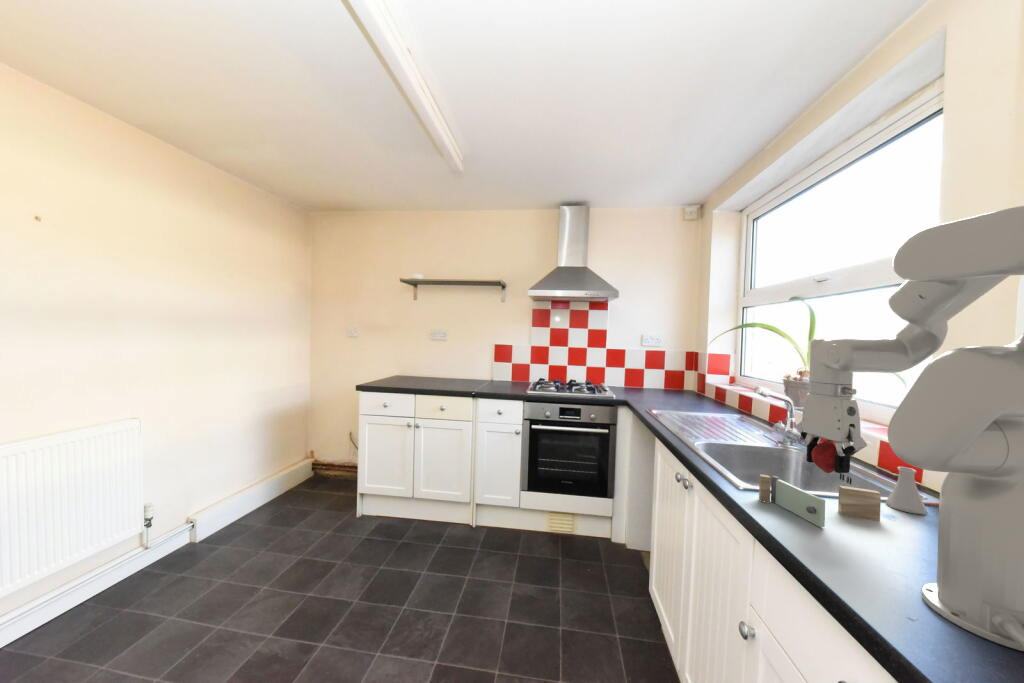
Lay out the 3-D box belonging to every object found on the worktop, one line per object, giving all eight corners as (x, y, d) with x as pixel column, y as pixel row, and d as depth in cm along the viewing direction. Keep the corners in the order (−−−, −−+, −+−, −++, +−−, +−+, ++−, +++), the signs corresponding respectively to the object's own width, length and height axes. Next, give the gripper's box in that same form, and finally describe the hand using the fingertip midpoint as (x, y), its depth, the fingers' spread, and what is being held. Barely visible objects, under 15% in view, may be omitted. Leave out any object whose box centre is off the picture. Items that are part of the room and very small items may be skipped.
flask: (932, 518, 84) (933, 476, 84) (888, 509, 88) (889, 469, 88) (922, 507, 89) (923, 468, 89) (881, 499, 94) (882, 461, 94)
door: (816, 527, 78) (817, 499, 78) (766, 500, 91) (767, 476, 91) (825, 527, 78) (826, 498, 78) (774, 500, 91) (775, 475, 91)
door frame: (879, 521, 82) (880, 493, 82) (760, 501, 91) (761, 476, 91) (876, 518, 83) (876, 490, 83) (759, 498, 92) (759, 474, 92)
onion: (831, 478, 79) (832, 443, 79) (804, 469, 85) (805, 436, 85) (850, 476, 81) (851, 441, 80) (822, 467, 86) (823, 434, 86)
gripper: (887, 396, 74) (883, 481, 75) (808, 385, 91) (806, 454, 92) (856, 396, 73) (852, 482, 74) (782, 385, 90) (780, 454, 91)
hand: (827, 466), depth 83 cm, fingers closed on onion, 5 cm apart
